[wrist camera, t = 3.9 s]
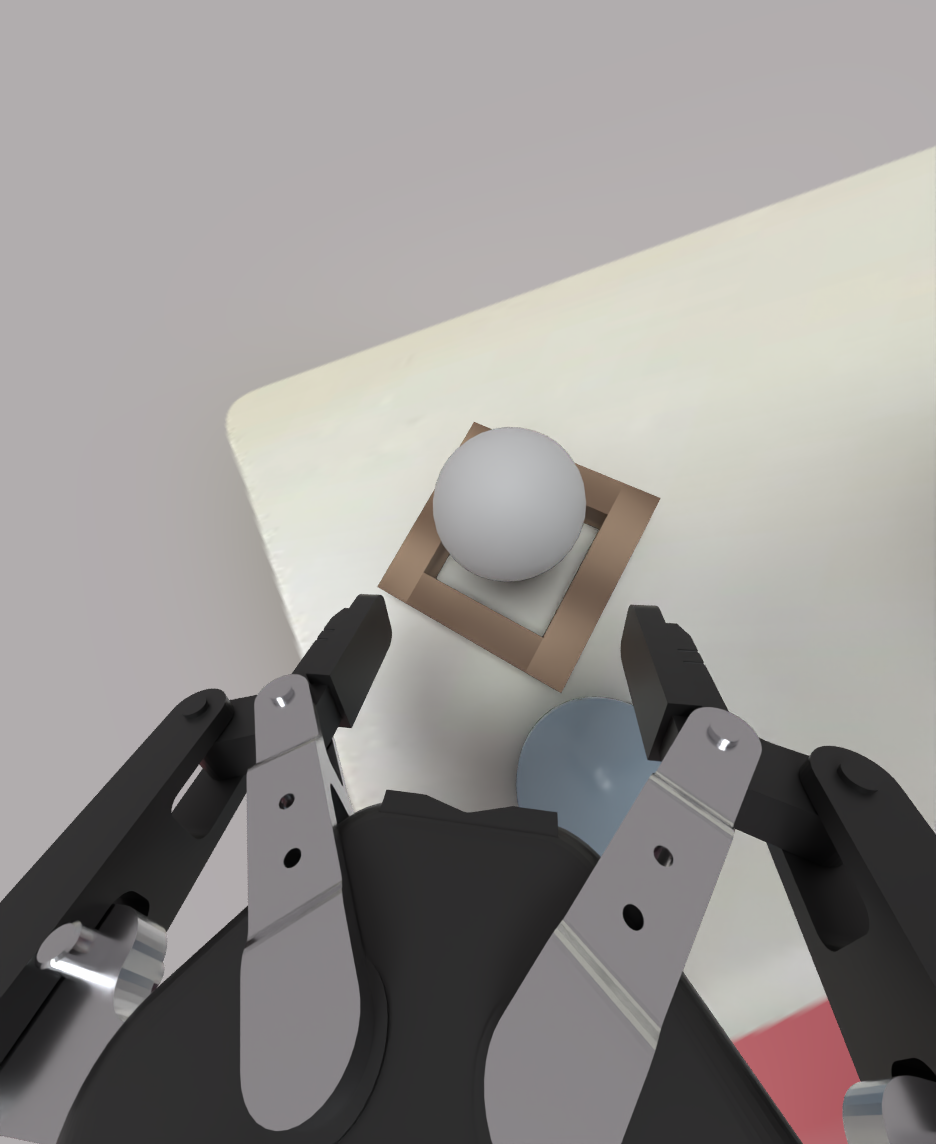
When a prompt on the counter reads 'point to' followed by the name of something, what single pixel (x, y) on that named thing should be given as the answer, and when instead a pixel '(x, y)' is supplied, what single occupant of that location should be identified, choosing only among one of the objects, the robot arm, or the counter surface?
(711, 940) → the counter surface
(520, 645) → the frame
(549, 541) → the lightbulb
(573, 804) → the pad
